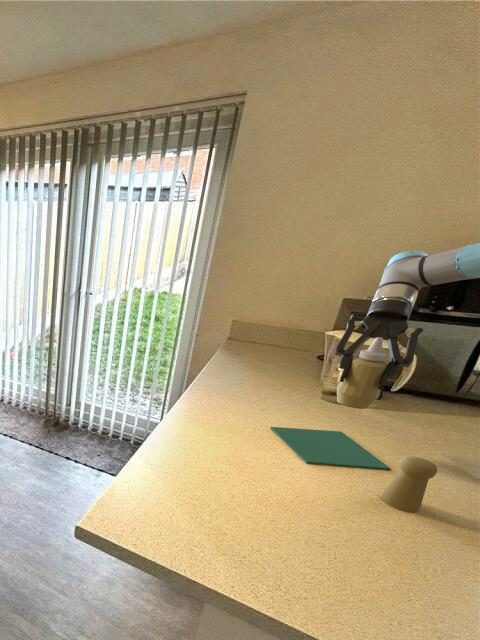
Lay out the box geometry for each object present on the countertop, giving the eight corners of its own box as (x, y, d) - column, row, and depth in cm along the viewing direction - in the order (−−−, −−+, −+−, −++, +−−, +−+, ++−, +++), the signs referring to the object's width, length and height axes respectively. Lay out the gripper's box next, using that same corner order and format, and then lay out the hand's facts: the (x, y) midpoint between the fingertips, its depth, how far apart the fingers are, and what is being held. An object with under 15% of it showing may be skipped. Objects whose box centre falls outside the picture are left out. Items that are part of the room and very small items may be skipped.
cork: (372, 494, 88) (392, 453, 83) (397, 492, 88) (418, 451, 84) (401, 513, 82) (424, 470, 78) (428, 511, 82) (452, 468, 78)
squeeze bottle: (370, 402, 102) (398, 336, 95) (376, 414, 96) (407, 345, 89) (329, 395, 107) (354, 331, 99) (333, 406, 101) (360, 339, 93)
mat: (390, 470, 96) (391, 468, 95) (306, 463, 99) (307, 461, 98) (340, 433, 112) (341, 431, 111) (270, 428, 115) (270, 426, 115)
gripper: (442, 321, 96) (413, 401, 93) (338, 309, 109) (309, 379, 106) (454, 303, 91) (423, 387, 87) (343, 293, 104) (312, 366, 100)
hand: (361, 383), depth 96 cm, fingers closed on squeeze bottle, 6 cm apart
